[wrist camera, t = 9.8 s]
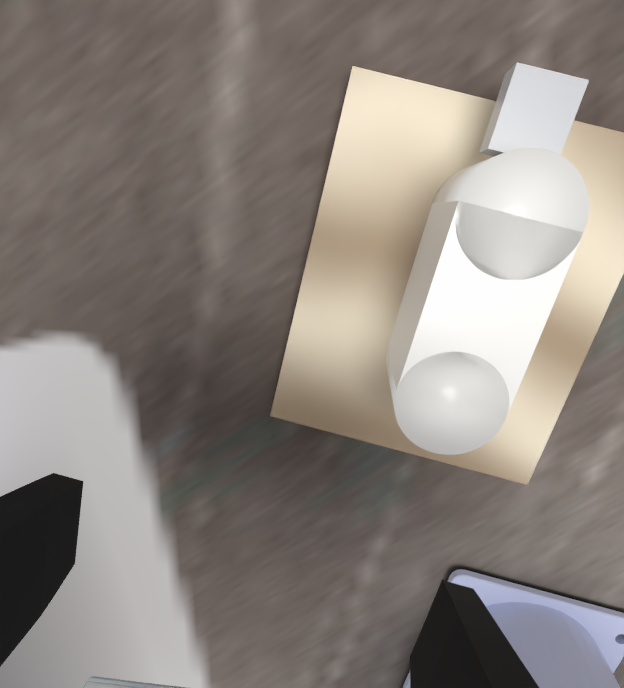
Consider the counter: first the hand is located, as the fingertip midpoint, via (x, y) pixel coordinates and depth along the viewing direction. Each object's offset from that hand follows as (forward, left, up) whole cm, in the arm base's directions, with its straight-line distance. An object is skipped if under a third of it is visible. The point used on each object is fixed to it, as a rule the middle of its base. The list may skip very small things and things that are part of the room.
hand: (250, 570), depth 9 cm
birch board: (+5, -4, -9) cm, 11 cm away
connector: (+5, -4, -8) cm, 11 cm away
